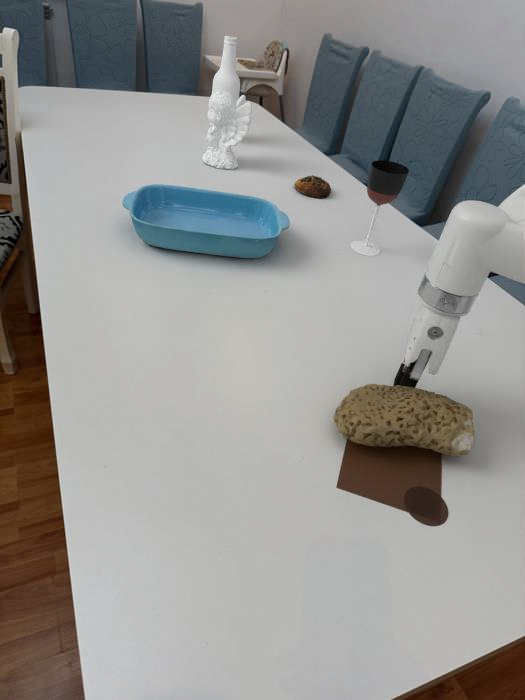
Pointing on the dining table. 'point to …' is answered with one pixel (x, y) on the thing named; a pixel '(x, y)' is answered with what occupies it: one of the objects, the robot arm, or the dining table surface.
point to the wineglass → (381, 195)
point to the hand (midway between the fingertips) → (402, 387)
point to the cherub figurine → (226, 128)
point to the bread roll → (313, 186)
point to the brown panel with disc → (396, 479)
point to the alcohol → (227, 71)
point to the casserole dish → (205, 220)
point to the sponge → (405, 419)
